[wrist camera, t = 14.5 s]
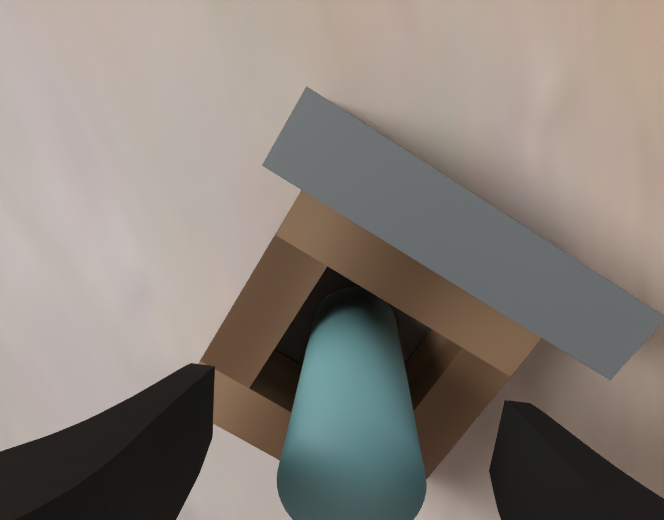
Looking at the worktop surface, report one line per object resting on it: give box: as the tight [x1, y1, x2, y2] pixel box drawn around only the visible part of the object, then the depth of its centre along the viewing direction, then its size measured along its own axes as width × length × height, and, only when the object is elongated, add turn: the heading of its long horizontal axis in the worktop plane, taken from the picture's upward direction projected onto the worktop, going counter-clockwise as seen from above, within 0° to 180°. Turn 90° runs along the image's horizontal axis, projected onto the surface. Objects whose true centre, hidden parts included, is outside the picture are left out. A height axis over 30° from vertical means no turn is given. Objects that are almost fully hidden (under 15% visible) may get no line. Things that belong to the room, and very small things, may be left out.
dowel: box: [277, 287, 426, 520], centre depth 14 cm, size 3×3×8 cm
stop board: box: [262, 86, 664, 380], centre depth 14 cm, size 10×2×5 cm, turn 59°
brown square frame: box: [199, 190, 541, 479], centre depth 16 cm, size 8×8×3 cm
